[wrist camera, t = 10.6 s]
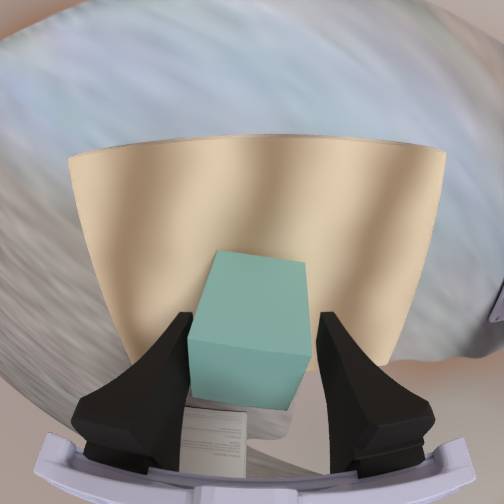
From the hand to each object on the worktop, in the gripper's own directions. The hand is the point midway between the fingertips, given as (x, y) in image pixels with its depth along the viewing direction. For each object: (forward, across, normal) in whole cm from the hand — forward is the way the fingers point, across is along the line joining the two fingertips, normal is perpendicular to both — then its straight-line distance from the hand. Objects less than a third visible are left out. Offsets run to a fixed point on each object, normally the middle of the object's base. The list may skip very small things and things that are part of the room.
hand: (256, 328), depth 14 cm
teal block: (+3, 0, 0) cm, 3 cm away
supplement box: (+5, +5, +20) cm, 21 cm away
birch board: (+5, 0, 0) cm, 5 cm away
